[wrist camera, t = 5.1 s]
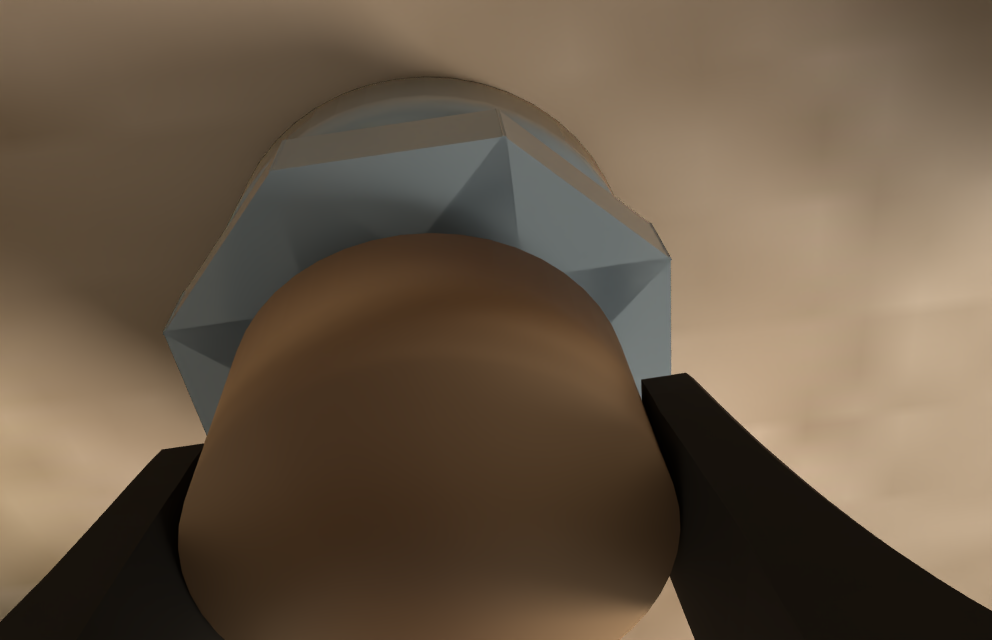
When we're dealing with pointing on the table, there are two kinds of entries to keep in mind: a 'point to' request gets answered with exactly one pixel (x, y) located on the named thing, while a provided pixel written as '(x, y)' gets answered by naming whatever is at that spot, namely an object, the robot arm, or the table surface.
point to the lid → (429, 458)
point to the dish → (423, 214)
